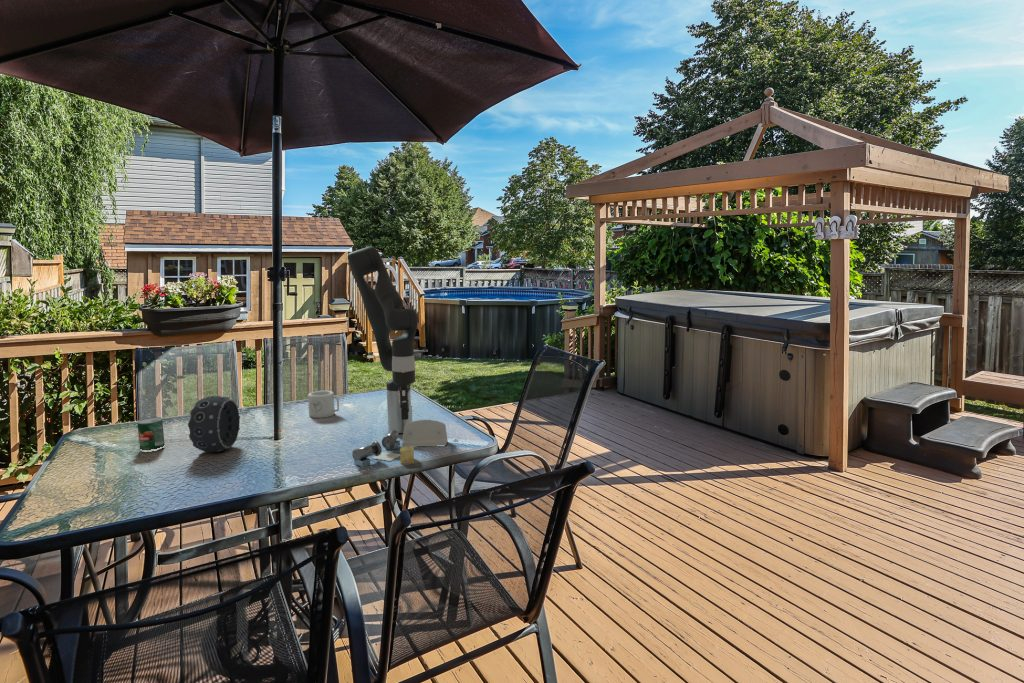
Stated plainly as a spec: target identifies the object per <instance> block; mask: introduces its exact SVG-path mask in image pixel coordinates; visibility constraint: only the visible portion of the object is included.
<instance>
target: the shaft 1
mask: <svg viewBox="0 0 1024 683" xmlns="http://www.w3.org/2000/svg"><path fill="white" fill-rule="evenodd" d="M382 452H383V451H382V445H381V443H380V442H379V441H374V442H371V444H370V445H367V446H363V447H360V448H356V449H353V450H352V452H351V453H352V454H351V455H352V458H353V462H354V463H353V464H354V465H355V466H357V465H358V466H357V467H360V466H361V467H360V468H362V467H363V468H366V467H369V466H371V458H369V457H374V456H379V455H380V454H381V453H382ZM368 465H369V466H368ZM365 466H366V467H365Z"/></svg>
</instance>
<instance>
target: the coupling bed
mask: <svg viewBox="0 0 1024 683" xmlns="http://www.w3.org/2000/svg"><path fill="white" fill-rule="evenodd" d="M399 457H400V453H395V452H394V453H392V452H386V451H382V452H381V454H380V455H379V456H375V455H373V456H372V457H371V460H377V459H378V460H379V461H384V460H385V461H384V462H392V461H394V460H395V458H396V459H397V458H399Z"/></svg>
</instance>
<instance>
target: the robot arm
mask: <svg viewBox="0 0 1024 683" xmlns="http://www.w3.org/2000/svg"><path fill="white" fill-rule="evenodd" d="M347 263H348V265H349V268H350V270H351V274H352V276H353V278H354V280H355V283H356V286H357V288H358V290H359V293H360V296H361V299H362V303H363V305H364V309H365V310H364V311H365V313H366V316H367V319H368V321H369V325H370V327H371V329H372V333H373V336H374V339H375V340H374V341H375V343H376V347H377V352H378V357H379V360H380V364H381V367H382V368H383V369H384V370H385V371H387V372H392V374H391V375H392V379H390V380H388V381H387V382H386V385H385V386H386V404H387V405H386V406H387V430H388V433H390V432H391V431H392V430H395V431H397V432H398V434H399V433H403V434H404V427H405V425H406V424H408V423H410V422H413V405H412V398H411V396H412V394H411V393H412V392H411V384H414V383H416V360H415V351H414V348H415V347H414V346H415V345H414V341H415V337H416V332H417V329H418V324H419V316H418V314H417V312H416V311H415V309H414V308H408V307H407V308H403V299H402V298H401V296H400V294H399V293H398V290H397V289H396V288H395V286H394V283H393V282H392V279H391V276H390V274H389V272H388V270H387V268H386V264H385V263H384V260H383V258H382V256H381V254H380V252H379V250H378V249H377V248H376V247H375V246H372V245H369V246H367V247H362V248H360V249H357V250H354V251H350V252H349V253H348V254H347ZM376 272H377V279H376V283H375V287H374V288H375V289H374V288H373V287H372V286H371V285H370V284H369V283H368V282H367V280H366V279H365V276H368V275H370V274H373V273H376ZM392 331H393V332H399V331H403V332H402V334H401V335H400V336H396V337H395V338H393V339H392V341H391V339H390V337H391V336H390V335H391V332H392ZM399 435H400V434H399Z"/></svg>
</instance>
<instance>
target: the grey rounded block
mask: <svg viewBox="0 0 1024 683" xmlns="http://www.w3.org/2000/svg"><path fill="white" fill-rule="evenodd" d="M447 443H449V442H448V435H447V428H446V424H445V423H444V422H442V421H438V420H433V419H419V420H414V421H412V422H410V423H408V424H406V425H405V427H404V433H403V434H402V445H401V447H409V446H414V448H416V447H415V446H437V445H447Z"/></svg>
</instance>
